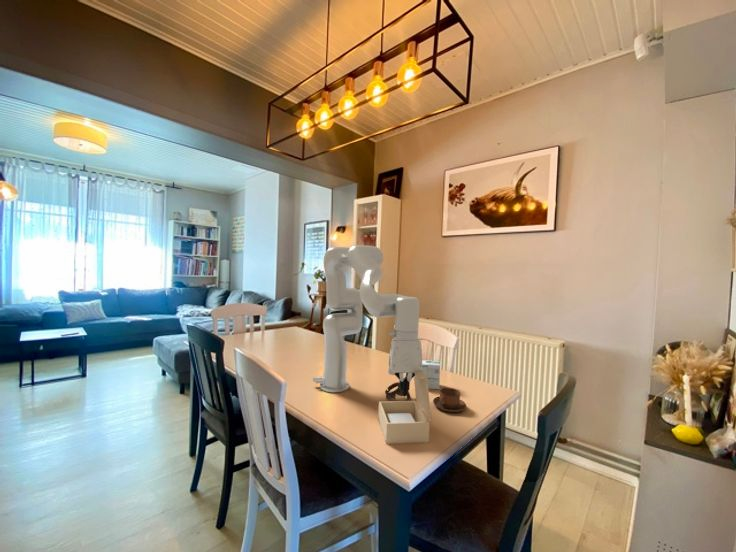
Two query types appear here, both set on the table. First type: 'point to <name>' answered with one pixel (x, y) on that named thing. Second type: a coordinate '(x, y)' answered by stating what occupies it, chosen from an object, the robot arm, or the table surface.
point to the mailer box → (403, 422)
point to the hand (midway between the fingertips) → (404, 392)
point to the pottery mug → (396, 392)
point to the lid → (422, 392)
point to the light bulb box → (432, 373)
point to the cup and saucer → (449, 400)
